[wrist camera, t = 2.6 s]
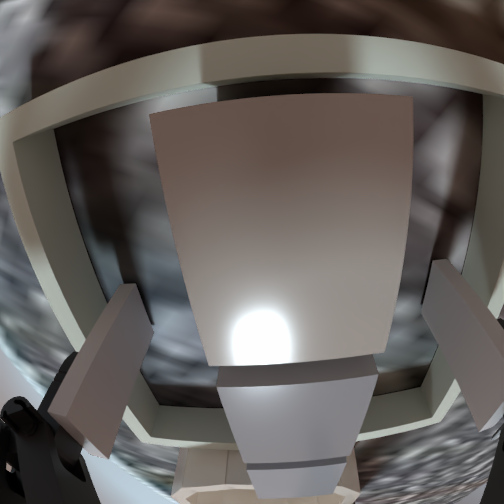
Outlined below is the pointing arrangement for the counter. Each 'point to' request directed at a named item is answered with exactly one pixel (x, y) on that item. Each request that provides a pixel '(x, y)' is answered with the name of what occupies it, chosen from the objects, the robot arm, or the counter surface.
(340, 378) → the grey rectangular block
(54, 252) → the square frame
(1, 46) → the counter surface
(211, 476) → the bowl
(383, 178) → the taupe block
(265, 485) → the light grey cuboid
